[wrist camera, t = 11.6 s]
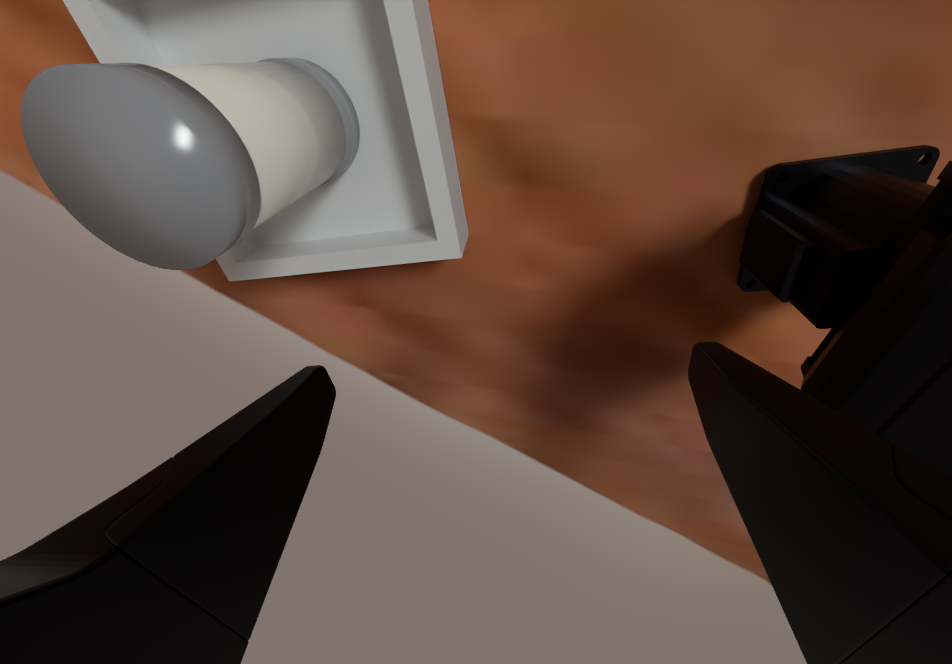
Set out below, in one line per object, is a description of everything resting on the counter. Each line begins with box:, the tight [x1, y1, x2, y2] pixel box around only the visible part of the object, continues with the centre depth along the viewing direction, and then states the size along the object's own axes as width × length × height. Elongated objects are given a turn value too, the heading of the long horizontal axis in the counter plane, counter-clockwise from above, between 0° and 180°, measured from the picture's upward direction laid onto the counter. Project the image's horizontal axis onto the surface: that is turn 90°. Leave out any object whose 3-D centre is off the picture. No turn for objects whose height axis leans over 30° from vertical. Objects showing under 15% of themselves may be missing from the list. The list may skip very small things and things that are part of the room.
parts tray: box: [63, 0, 469, 282], centre depth 17 cm, size 13×13×3 cm
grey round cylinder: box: [21, 58, 360, 270], centre depth 14 cm, size 5×5×10 cm
